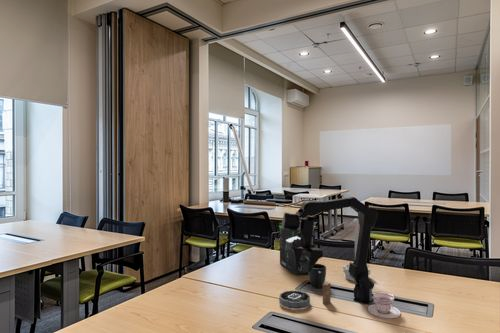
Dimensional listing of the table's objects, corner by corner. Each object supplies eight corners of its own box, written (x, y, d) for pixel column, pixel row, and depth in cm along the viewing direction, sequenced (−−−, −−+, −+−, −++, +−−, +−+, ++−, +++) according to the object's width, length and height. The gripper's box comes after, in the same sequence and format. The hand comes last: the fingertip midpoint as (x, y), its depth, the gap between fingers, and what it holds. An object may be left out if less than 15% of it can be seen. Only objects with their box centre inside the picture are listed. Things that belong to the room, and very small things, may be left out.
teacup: (374, 303, 140) (374, 288, 140) (404, 310, 133) (404, 295, 133) (363, 313, 131) (362, 297, 131) (395, 322, 124) (395, 305, 123)
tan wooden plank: (330, 302, 141) (330, 283, 141) (327, 304, 139) (327, 285, 139) (326, 300, 143) (326, 282, 142) (322, 303, 140) (322, 284, 140)
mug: (310, 292, 152) (310, 271, 152) (307, 283, 164) (307, 263, 164) (329, 292, 152) (329, 271, 152) (324, 283, 164) (324, 263, 163)
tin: (315, 302, 141) (315, 295, 141) (299, 312, 131) (299, 304, 131) (290, 295, 149) (289, 288, 149) (273, 304, 139) (273, 297, 139)
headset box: (279, 263, 196) (278, 219, 196) (297, 261, 200) (297, 217, 199) (295, 275, 174) (295, 225, 174) (316, 273, 178) (316, 224, 178)
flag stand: (374, 282, 164) (373, 220, 164) (347, 282, 164) (346, 220, 164) (365, 273, 177) (365, 216, 177) (340, 273, 177) (340, 216, 177)
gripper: (278, 226, 146) (275, 262, 146) (302, 236, 129) (298, 276, 129) (300, 226, 151) (296, 261, 151) (326, 236, 134) (322, 275, 134)
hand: (302, 268), depth 141 cm, fingers open, 9 cm apart
